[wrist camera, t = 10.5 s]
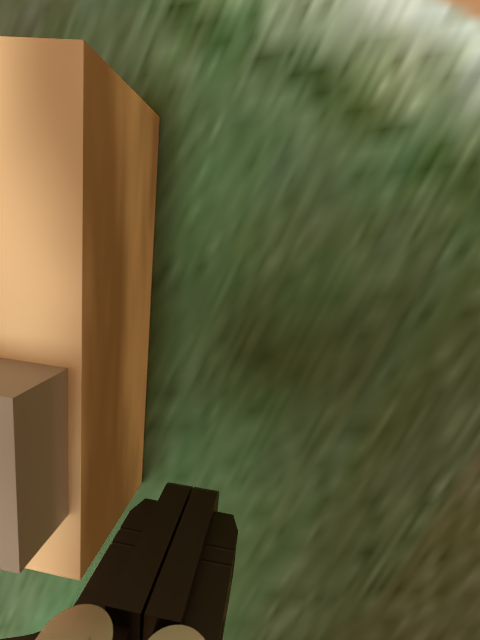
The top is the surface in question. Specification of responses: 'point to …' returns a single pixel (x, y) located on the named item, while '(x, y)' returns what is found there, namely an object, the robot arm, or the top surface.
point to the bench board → (79, 267)
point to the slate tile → (31, 458)
